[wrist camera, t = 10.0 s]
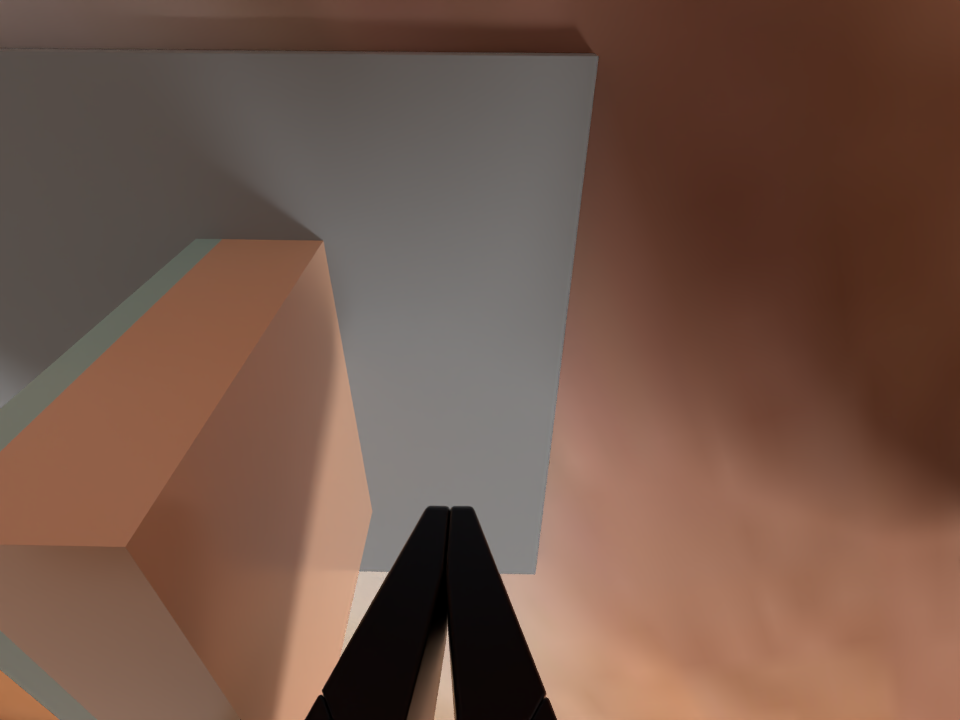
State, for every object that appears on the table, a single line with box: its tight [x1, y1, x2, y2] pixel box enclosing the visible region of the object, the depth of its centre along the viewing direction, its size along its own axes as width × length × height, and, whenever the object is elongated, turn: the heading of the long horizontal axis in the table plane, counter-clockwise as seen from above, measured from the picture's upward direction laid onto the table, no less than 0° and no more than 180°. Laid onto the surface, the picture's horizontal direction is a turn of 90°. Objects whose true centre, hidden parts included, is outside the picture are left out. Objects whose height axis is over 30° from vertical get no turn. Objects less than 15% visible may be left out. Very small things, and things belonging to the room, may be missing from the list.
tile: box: [0, 239, 372, 720], centre depth 9 cm, size 2×8×6 cm, turn 0°
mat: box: [0, 49, 599, 574], centre depth 12 cm, size 16×14×1 cm
